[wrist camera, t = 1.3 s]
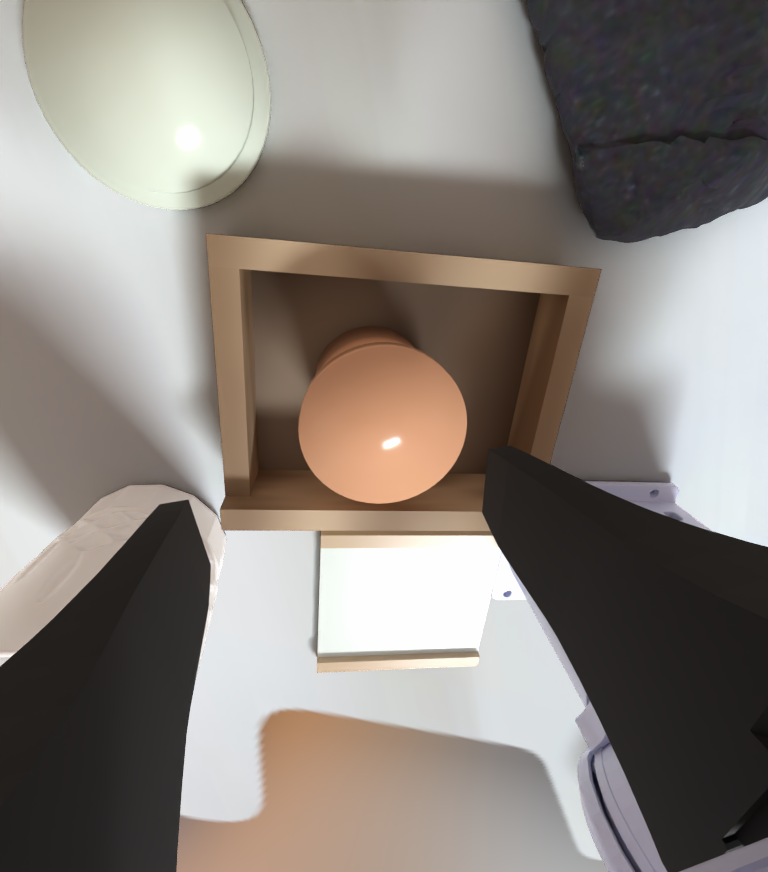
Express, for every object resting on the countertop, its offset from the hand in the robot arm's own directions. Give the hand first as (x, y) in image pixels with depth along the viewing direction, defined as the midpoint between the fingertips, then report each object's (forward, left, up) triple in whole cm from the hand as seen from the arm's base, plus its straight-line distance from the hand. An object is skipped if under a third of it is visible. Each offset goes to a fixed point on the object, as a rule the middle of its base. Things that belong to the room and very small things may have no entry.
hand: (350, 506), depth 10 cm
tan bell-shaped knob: (-1, 0, -10) cm, 10 cm away
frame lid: (-4, +13, -10) cm, 17 cm away
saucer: (+7, -10, -10) cm, 16 cm away
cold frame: (-2, 0, -10) cm, 10 cm away
